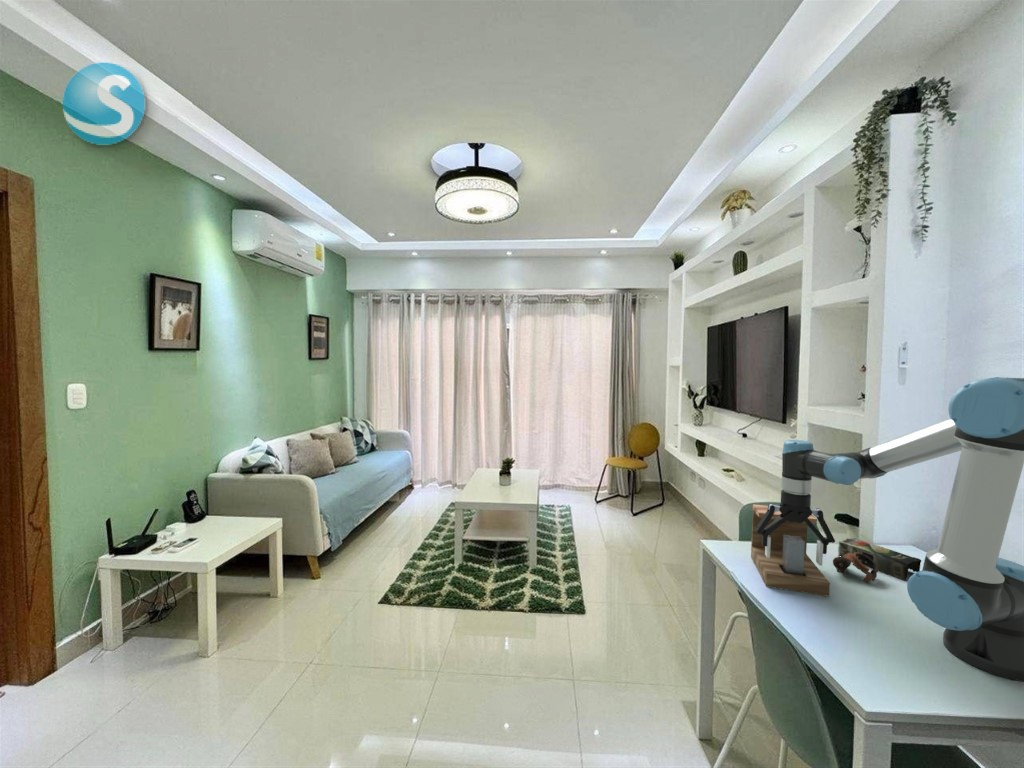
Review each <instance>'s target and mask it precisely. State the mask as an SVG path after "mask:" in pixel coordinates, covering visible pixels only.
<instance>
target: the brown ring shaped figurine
mask: <svg viewBox="0 0 1024 768" xmlns="http://www.w3.org/2000/svg"><path fill="white" fill-rule="evenodd" d="M856 556H858V558H857V557H856ZM858 559H859V560H863V561H867V562H868V564H869V567H870V569H871V571H870V569H869V567H867V566H864V565H863V564H862V563H861V562H860V561H859V560H858ZM832 565H833V567H834V568H835V569H836V572H839V573H841V574H845V572H846V571H847V569H848V568H849V567H850V566H851V565H852V566H854V567H855V568H857V570H860V571H861V572H862V573H863V574H864V575H865V577H864V578H863V582H865V583H867V584H868V583H870V582H871V583H872V581H874V580H875V579H876V578H877V576H878V574H877V573H878V572H880V571H879V569H878V567H877V565H876V564H875V563H874V562H873V561H872V560H871V559H870V558H869V557H867V556H865V555H864V554H861V553H858V552H854V553H853V554H847V555H845V556H843V557H840V556H837V557H835V558H833V560H832Z"/></svg>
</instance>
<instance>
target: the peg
mask: <svg viewBox="0 0 1024 768" xmlns="http://www.w3.org/2000/svg"><path fill="white" fill-rule="evenodd" d="M804 549H805V542H804V541H803V540H802V538H801V537H799V536H791V535H783V556H782V571H783V573H786V574H793V575H799V576H803V570H804Z"/></svg>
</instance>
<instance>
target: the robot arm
mask: <svg viewBox="0 0 1024 768" xmlns="http://www.w3.org/2000/svg"><path fill="white" fill-rule="evenodd" d="M947 409H948V415H949V418H947V419H945V420H942V421H939V422H936V423H934V424H930V425H927V426H925V427H923V428H919V429H917V430H915V431H912V432H909V433H906V434H903V435H901V436H897V437H895V438H893V439H889V440H886V441H884V442H882V443H878V444H876V445H873V446H871V447H867V448H865V449H862V450H858V451H852V452H840V453H828V452H822V451H819V450H815V449H814V444H813V442H811V441H809V440H808V441H807V440H803V439H802V440H800V439H787V440H784V442H783V445H782V446H783V447H782V452H781V458H782V463H781V465H782V466H781V467H782V469H781V471H782V472H781V487H780V488H781V490H780V503H779V505H777V504H776V505H775V504H773V503H771V502H770V503H768V505H767V506H768V510H767V512H766V513H765V515H764V516H763V518H762V519H761V521H760V522H759V524H758V525H757V527H756V528H755V529H756V531H757V533H758V534H762V544H763V546H765V555H766V557H767V558H770V544H771V537H770V536H769V535H770V534H771V533H772V532H773V531H774V530H775V529H777V528H778V527H779V526H780V525H781V524H782V523H785V522H786V521H789V522H797V523H802V522H805V523H806V524H807V527H808V528H810V530H811V531H812V532H813V534H815V535H816V537H817V538H818V539H819V540H816V550H815V551H816V554H815V555H816V557H815V562H816V563H817V565H819V566H821V567H822V566H823V558H824V555H827V550H828V545H829V544H830V543H832V544H833V543H835V542H836V540H835V538H834V536H833V534H832V532H831V530H830V528H829V526H828V524H827V522H826V520H825V519H824V517H825V516H824V512H823V510H821V509H820V508H818V507H816V508H815V509H813V508H812V509H811V498H812V495H811V493H812V477H813V478H817V479H820V480H824V481H828V482H831V483H834V484H836V485H837V484H840V485H844V486H852V485H854V484H855V483H856V482H858V481H859V480H860V479H861V480H863V479H877V478H879V477H880V478H881V477H883V476H885V475H887V474H888V473H890V472H893V471H897V470H900V469H903V468H906V467H910V466H913V465H917V464H921V463H923V462H928V461H930V460H934V459H937V458H939V457H944V456H947V455H952V454H954V453H957V452H960V455H959V459H958V463H957V466H956V467H957V468H956V470H955V475H954V480H953V483H952V487H951V491H950V492H951V493H950V496H949V500H948V504H947V509H946V511H945V517H944V520H943V525H942V527H941V528H942V529H941V533H940V538H939V542H938V546H937V548H934V549H930V550H928V551H926V553H925V556H924V557H925V558H924V561H923V566H922V570H920V571H919V572H916V571H915V572H913V574H912V575H911V576H909V578H908V579H907V582H906V589H907V593H908V596H909V598H910V600H911V602H912V603H914V605H915V607H916V609H917V610H918V611H919V612H920V613H921V614H922V615H923V616H924V617H925V618H926V619H928V620H929V621H931V622H932V623H934V624H936V625H938V626H939V627H942V628H945V629H944V631H943V635H942V643H943V645H944V647H945V648H946V650H948V651H949V652H950V653H951V654H952V655H954V656H955V657H957V658H959V659H960V660H962V661H963V662H965V663H967V664H969V665H971V666H973V667H974V668H975V667H976V668H978V669H980V670H982V671H984V672H987V673H990V674H992V675H996V676H998V677H1002V678H1006V679H1009V680H1013V681H1019V682H1024V565H1022V564H1020V563H1016V562H1015V561H1011V560H1008V559H1004V558H1001V557H999V556H1000V553H1001V549H1002V545H1003V542H1004V539H1005V534H1006V531H1007V527H1008V524H1009V519H1010V515H1011V512H1012V509H1013V506H1014V505H1013V504H1014V501H1015V497H1016V493H1017V490H1018V487H1019V483H1020V478H1021V474H1022V471H1023V468H1024V377H1004V376H1003V377H1002V376H1001V377H999V376H997V377H996V376H994V377H989V378H984V379H983V378H981V379H977V380H974V381H971V382H969V383H967V384H965V385H963V386H961V387H960V388H958V389H957V390H956V391H955V392H954V393H953V395H952V397H951V398H950V400H949V403H948V408H947ZM777 510H779V511H780V512H781V514H780V515H779V516H778V517H777V518H776V519H775V520H774V521H773V522H772V523H770V524H769V525H768V526H767V527H766V525H767V524H768V522H769V521H770V519H771V518H772V516H773V514H774V513H775V512H777ZM811 514H812V515H813V516H814V517H815V518H816V519H817V522H818V523H819V524H820V527H821V529H822V531H823V532H824V534H825V536H824V535H823V534H822V533H821V532H820V531H819V530H818V529H817V527H816V526H815V525H814V524H813V523H811V522H810V520H809V519H808V517H809V516H810V515H811ZM765 527H766V528H765ZM764 528H765V529H764Z"/></svg>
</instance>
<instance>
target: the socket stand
mask: <svg viewBox="0 0 1024 768" xmlns="http://www.w3.org/2000/svg"><path fill="white" fill-rule="evenodd" d="M767 510H768V505H764V504H763V505H762V504H755V503H754V504H752V518H751V519H752V521H751V544H750V547H751V548H750V557H751V560H752V562H753V564H754V565H755V567H756V569H757V572H758V573H759V575H760V577H761V579H762V582H763V583H764V585H765V587H767V586H770V587H769V588H773V587H776V588H775V589H779V588H782V589H781V590H785V589H788V590H787V591H792V592H799V593H804V594H811V595H817V596H823V597H824V596H825V597H830V590H831V589H830V588H831V587H830V586H831V583H830V581H829V580H828V579H827V577H826V576H825V575H824V574H823V572H821V570H820V569H819V568H818V566H817V565H816V564H815V563H814V561H812V559H811V558H810V557H809V555H808V554H807V547H808V546H807V543H808V525H807V524H806V523H805V522H802V523H797V522H789V521H786V522H785V523H782V524H781V525H780V526H779V527H778V528H777V529H775V530H774V531H773V532H772V533H771V534H770V535H769V536H770V537H771V544H770V558H767V557H766V555H765V546H763V544H762V534H758V533H757V531H756V529H755V528H756V527H757V525H758V524H759V522H760V521H761V519H762V518H763V516H764V515H765V513H766V512H767ZM780 514H781V512H780V511H779V510H777V512H775V513H774V514H773V516H772V518H771V519H770V521H769V522H768V524H767V525H766V527H767V526H768V525H769V524H770V523H772V522H773V521H774V520H775V519H776V518H777V517H778V516H779V515H780ZM808 519H809V520H810V522H811V523H812V524H813V525H814V524H815V525H817V524H818V519H817V517H815V516H814V514H811V515H810V516H809V517H808ZM766 527H765V528H766ZM765 528H764V529H765ZM783 535H791V536H799V537H801V538H802V540H803V541H804V542H805V549H804V570H803V576H799V575H793V574H786V573H783V571H782V556H783Z"/></svg>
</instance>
